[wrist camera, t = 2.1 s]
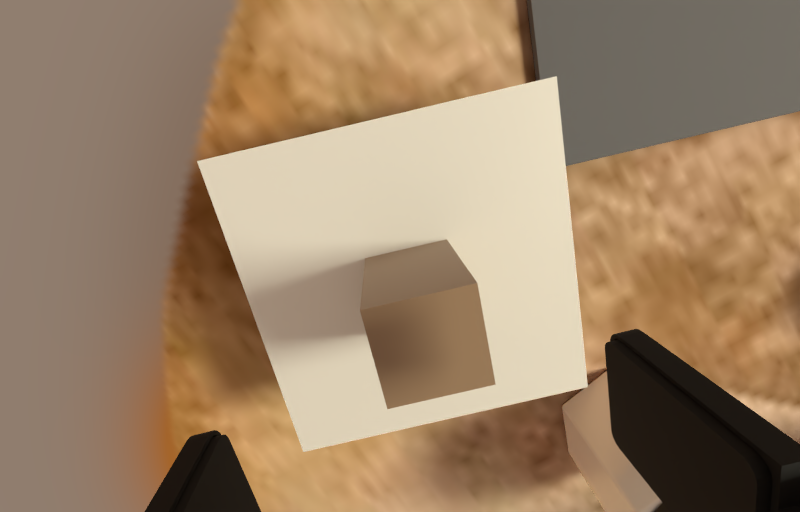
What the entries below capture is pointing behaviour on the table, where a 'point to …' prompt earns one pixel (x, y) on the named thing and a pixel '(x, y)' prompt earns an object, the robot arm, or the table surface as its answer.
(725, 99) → the mat
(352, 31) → the table surface
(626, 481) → the jar
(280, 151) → the lid
